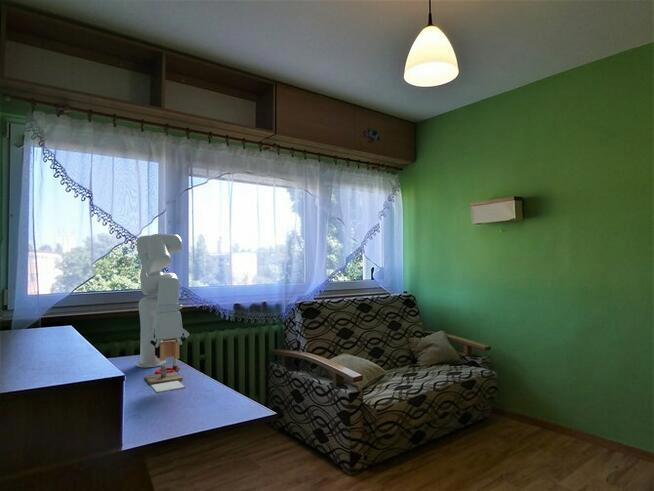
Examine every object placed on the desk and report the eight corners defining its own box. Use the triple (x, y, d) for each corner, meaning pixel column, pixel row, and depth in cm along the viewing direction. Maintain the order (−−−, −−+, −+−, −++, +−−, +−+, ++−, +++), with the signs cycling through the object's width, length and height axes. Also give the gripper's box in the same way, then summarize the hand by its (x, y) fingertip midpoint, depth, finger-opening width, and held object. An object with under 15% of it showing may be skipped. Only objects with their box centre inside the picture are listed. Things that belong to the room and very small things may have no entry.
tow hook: (151, 375, 177) (173, 374, 176) (150, 344, 177) (171, 343, 177) (160, 370, 185) (181, 369, 185) (159, 341, 186) (179, 340, 185)
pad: (151, 386, 159) (151, 385, 159) (178, 381, 165) (178, 380, 165) (156, 392, 151) (156, 391, 151) (184, 387, 157) (184, 386, 157)
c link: (156, 357, 159) (157, 341, 159) (174, 355, 163) (174, 339, 163) (161, 361, 153) (161, 344, 154) (179, 358, 157) (179, 342, 157)
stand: (144, 378, 170) (144, 364, 170) (175, 373, 177) (175, 360, 177) (150, 385, 160) (150, 371, 160) (182, 380, 167) (182, 366, 167)
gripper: (188, 306, 167) (188, 351, 166) (141, 309, 157) (141, 357, 156) (193, 308, 161) (193, 354, 160) (145, 311, 151) (145, 361, 150)
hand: (168, 355), depth 158 cm, fingers closed on c link, 6 cm apart
